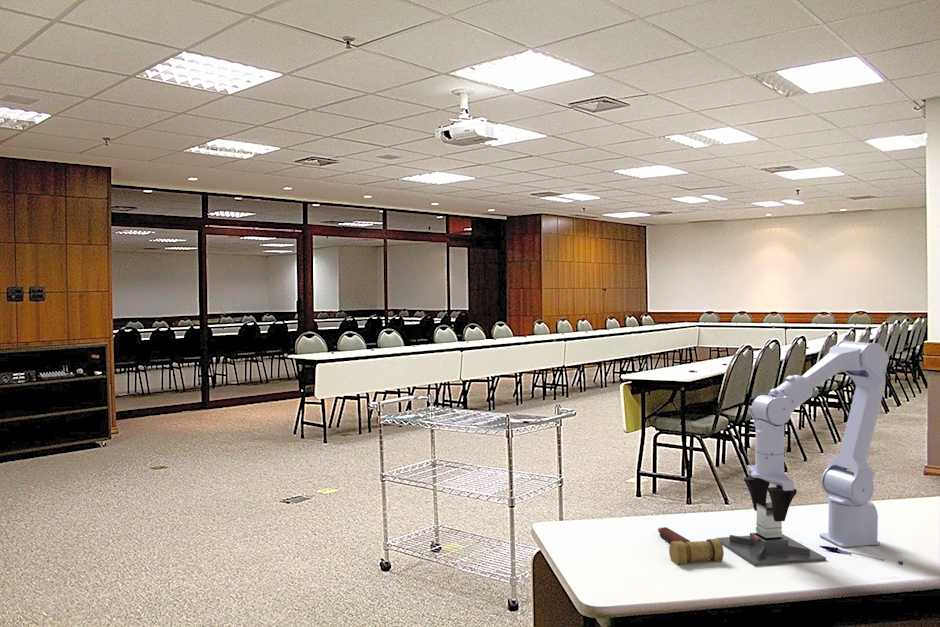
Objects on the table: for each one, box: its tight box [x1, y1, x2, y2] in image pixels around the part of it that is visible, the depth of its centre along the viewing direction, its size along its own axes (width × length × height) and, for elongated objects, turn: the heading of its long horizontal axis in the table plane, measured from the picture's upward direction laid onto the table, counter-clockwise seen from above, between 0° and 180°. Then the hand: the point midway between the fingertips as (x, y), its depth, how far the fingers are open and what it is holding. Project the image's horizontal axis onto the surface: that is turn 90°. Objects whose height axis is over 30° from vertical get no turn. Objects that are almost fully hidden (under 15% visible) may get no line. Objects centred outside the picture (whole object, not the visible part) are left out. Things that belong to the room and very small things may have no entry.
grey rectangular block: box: [755, 501, 783, 538], centre depth 167 cm, size 4×4×6 cm
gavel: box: [657, 527, 725, 565], centre depth 170 cm, size 21×5×10 cm
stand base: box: [715, 532, 827, 567], centre depth 167 cm, size 16×16×3 cm
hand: (769, 515), depth 167 cm, fingers open, 7 cm apart
